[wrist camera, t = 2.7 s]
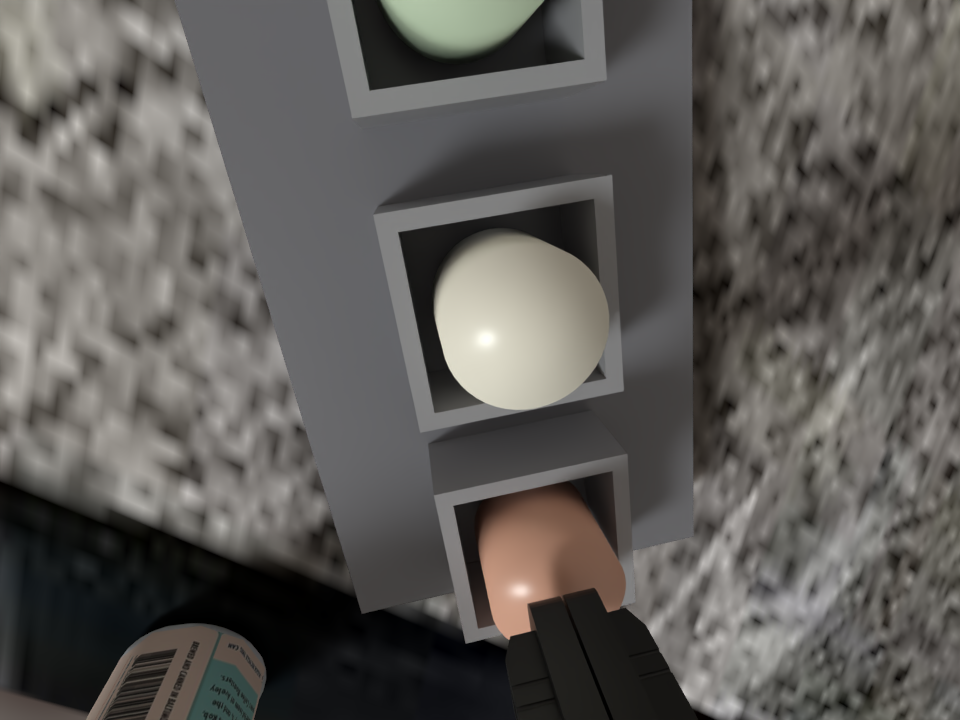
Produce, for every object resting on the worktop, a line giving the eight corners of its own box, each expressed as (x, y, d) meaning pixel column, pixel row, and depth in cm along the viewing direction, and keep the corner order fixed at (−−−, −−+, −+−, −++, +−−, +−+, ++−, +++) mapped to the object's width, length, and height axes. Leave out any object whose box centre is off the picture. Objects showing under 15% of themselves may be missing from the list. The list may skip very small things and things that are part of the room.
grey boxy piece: (647, -162, 12) (775, -333, 8) (664, 501, 19) (739, 593, 15) (168, -110, 11) (36, -273, 7) (365, 568, 18) (356, 687, 14)
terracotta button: (580, 460, 14) (622, 526, 12) (589, 554, 15) (628, 632, 13) (465, 485, 14) (481, 558, 11) (483, 578, 15) (500, 663, 12)
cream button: (558, 216, 12) (603, 229, 9) (570, 347, 13) (613, 392, 10) (419, 240, 12) (426, 261, 9) (444, 372, 13) (456, 424, 10)
